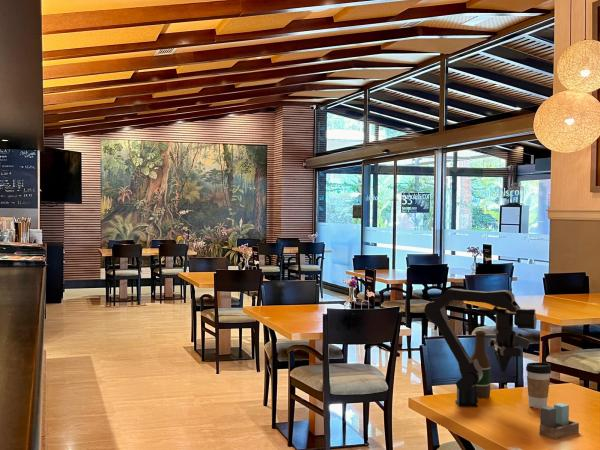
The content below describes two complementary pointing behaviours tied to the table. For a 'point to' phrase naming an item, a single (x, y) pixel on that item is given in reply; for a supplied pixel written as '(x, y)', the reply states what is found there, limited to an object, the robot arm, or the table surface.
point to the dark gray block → (548, 416)
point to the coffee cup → (538, 383)
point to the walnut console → (559, 430)
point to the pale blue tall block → (562, 413)
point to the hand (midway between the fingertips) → (503, 372)
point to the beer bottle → (482, 365)
